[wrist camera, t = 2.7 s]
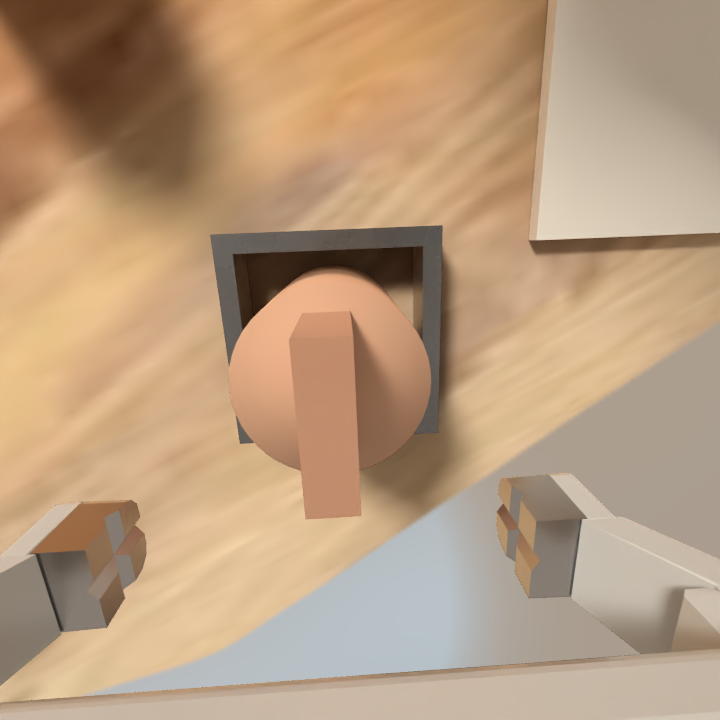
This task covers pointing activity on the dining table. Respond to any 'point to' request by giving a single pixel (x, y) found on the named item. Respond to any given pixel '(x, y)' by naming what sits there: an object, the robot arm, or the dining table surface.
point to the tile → (628, 120)
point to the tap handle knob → (330, 383)
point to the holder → (423, 239)
